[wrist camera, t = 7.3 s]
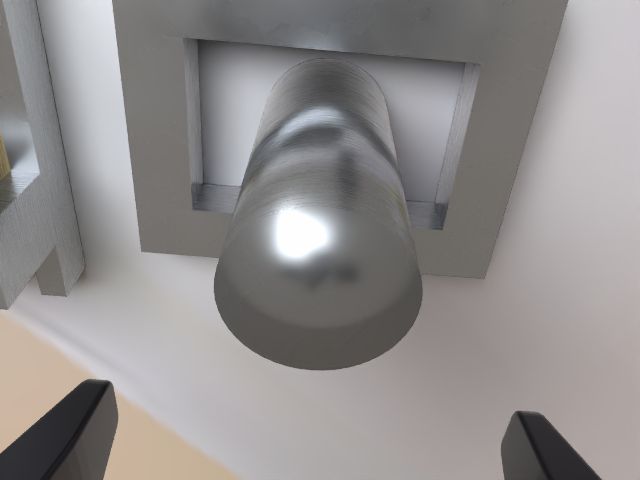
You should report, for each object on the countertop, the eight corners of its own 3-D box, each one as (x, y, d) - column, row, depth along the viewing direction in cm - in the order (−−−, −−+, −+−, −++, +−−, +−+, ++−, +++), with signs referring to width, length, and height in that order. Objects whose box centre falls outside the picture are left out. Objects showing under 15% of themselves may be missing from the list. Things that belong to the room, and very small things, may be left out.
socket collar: (546, -14, 18) (568, -1, 16) (473, 249, 23) (484, 278, 22) (129, -52, 17) (106, -43, 16) (155, 223, 23) (141, 251, 21)
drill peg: (396, 63, 19) (441, 216, 11) (379, 179, 22) (404, 377, 13) (266, 52, 19) (210, 197, 11) (263, 170, 22) (216, 363, 13)
